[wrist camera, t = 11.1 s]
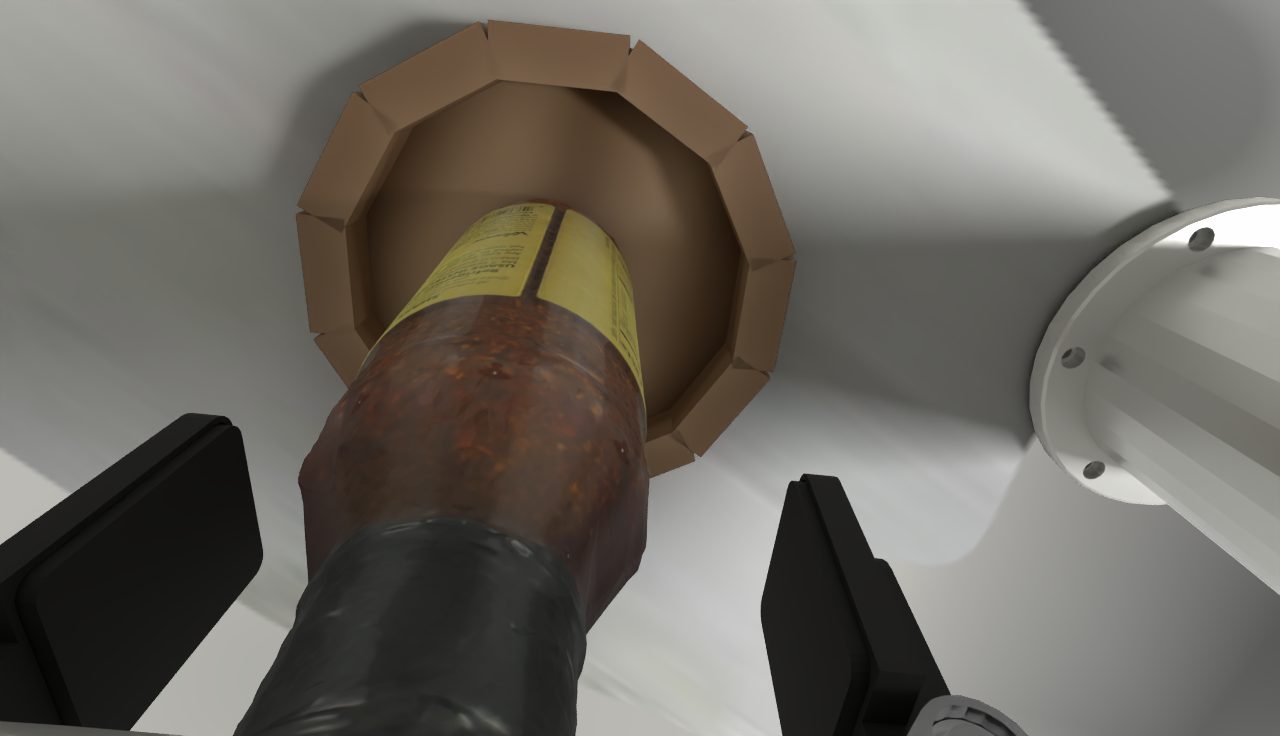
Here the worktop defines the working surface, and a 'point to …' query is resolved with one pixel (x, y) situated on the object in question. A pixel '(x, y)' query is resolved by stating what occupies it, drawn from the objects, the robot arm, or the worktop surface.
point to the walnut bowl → (575, 175)
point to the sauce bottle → (473, 497)
